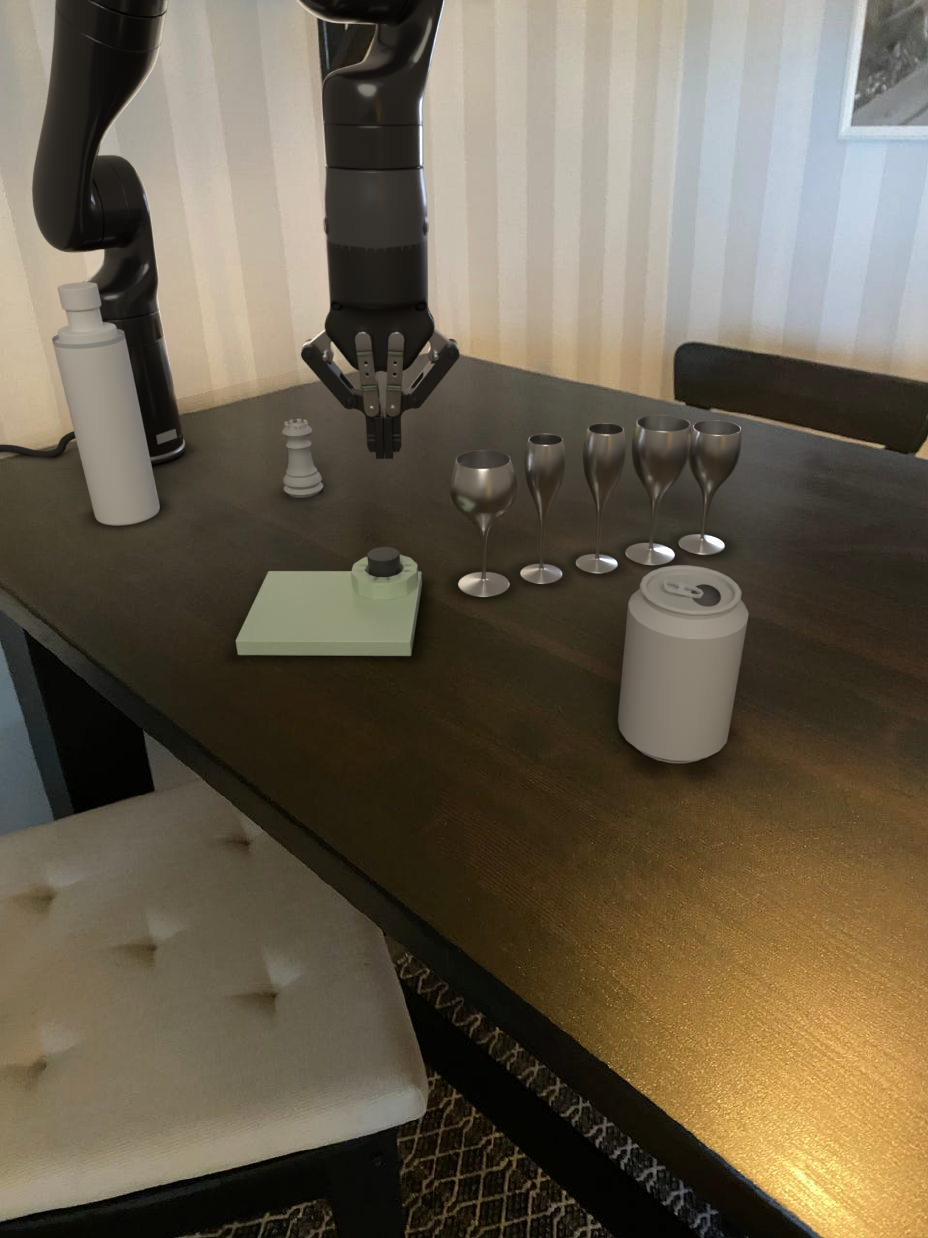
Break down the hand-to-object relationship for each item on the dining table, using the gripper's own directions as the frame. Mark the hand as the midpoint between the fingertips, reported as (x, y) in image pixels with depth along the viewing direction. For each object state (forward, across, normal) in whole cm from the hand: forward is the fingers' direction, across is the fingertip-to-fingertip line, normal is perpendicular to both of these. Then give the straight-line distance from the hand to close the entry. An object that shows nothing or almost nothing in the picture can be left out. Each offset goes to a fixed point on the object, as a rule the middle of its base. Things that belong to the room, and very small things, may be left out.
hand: (384, 455), depth 76 cm
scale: (+13, +4, +6) cm, 14 cm away
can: (+12, -20, +24) cm, 33 cm away
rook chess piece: (+14, +10, -23) cm, 29 cm away
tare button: (+10, 0, +2) cm, 10 cm away
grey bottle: (+14, +28, -19) cm, 37 cm away
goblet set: (+12, -19, -2) cm, 23 cm away
